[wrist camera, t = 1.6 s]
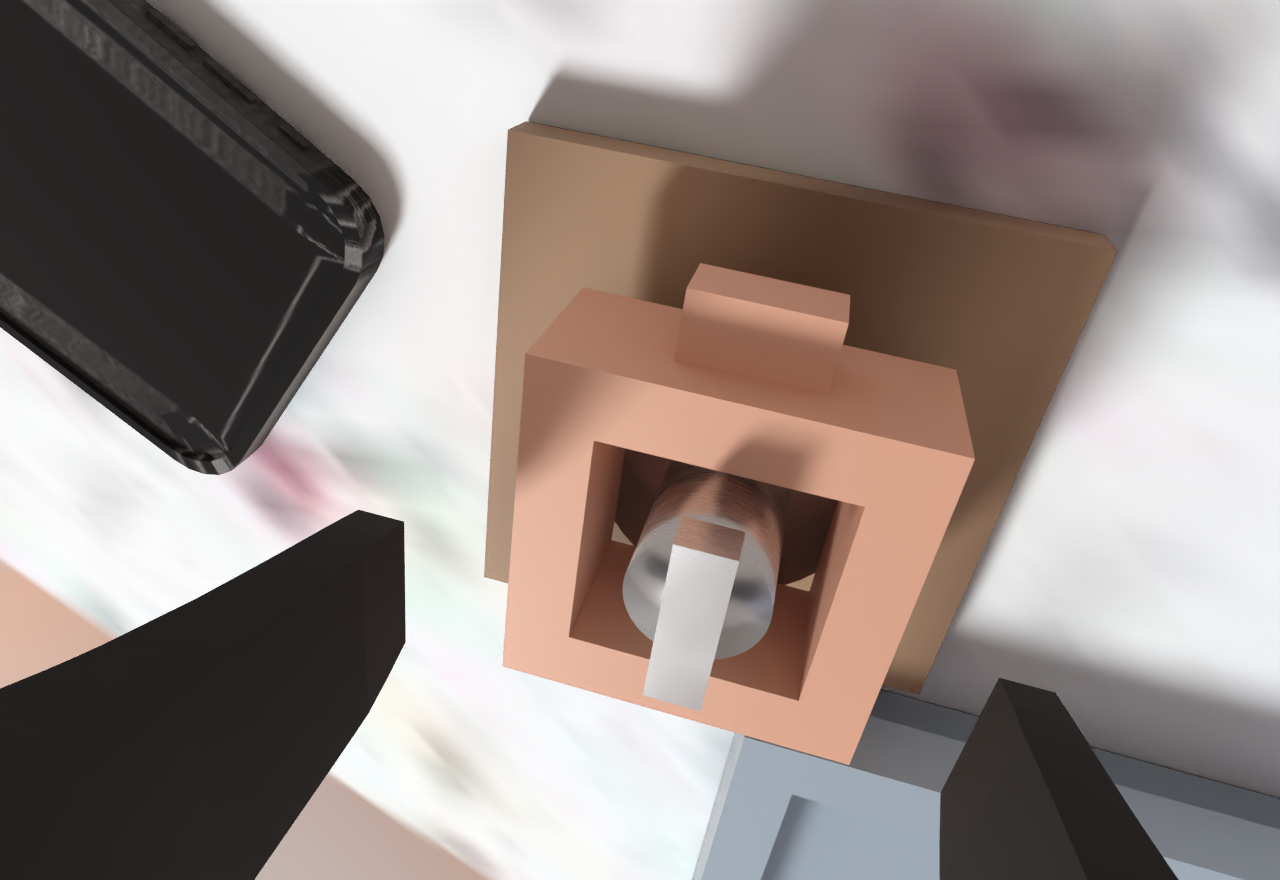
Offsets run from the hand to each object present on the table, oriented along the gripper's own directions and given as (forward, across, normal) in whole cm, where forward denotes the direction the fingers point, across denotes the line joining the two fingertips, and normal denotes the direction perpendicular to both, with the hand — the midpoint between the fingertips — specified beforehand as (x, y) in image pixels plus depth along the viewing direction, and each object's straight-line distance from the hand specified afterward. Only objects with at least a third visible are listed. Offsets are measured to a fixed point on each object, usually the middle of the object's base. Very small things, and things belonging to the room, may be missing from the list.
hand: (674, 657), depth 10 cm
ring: (+4, 0, 0) cm, 4 cm away
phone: (+7, +15, -3) cm, 17 cm away
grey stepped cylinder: (+6, 0, 0) cm, 6 cm away
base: (+6, 0, 0) cm, 6 cm away
